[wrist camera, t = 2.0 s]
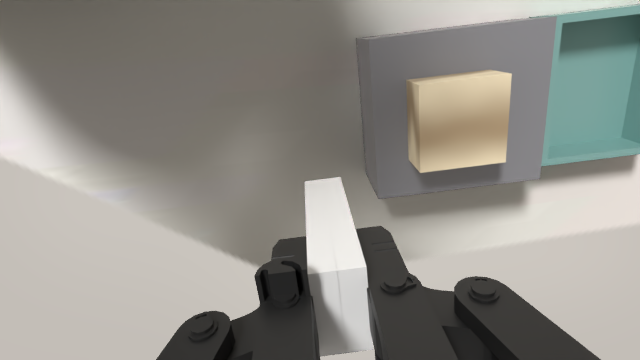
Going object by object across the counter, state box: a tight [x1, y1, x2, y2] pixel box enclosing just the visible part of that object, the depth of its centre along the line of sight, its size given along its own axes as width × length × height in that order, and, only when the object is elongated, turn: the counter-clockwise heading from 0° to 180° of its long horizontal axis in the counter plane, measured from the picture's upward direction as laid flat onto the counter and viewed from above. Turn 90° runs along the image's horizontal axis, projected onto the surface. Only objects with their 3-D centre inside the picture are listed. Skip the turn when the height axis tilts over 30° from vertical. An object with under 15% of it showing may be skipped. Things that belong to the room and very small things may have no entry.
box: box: [529, 4, 640, 166], centre depth 32 cm, size 12×10×4 cm
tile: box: [406, 70, 512, 173], centre depth 27 cm, size 6×6×3 cm
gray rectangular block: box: [356, 16, 557, 199], centre depth 31 cm, size 12×13×6 cm
